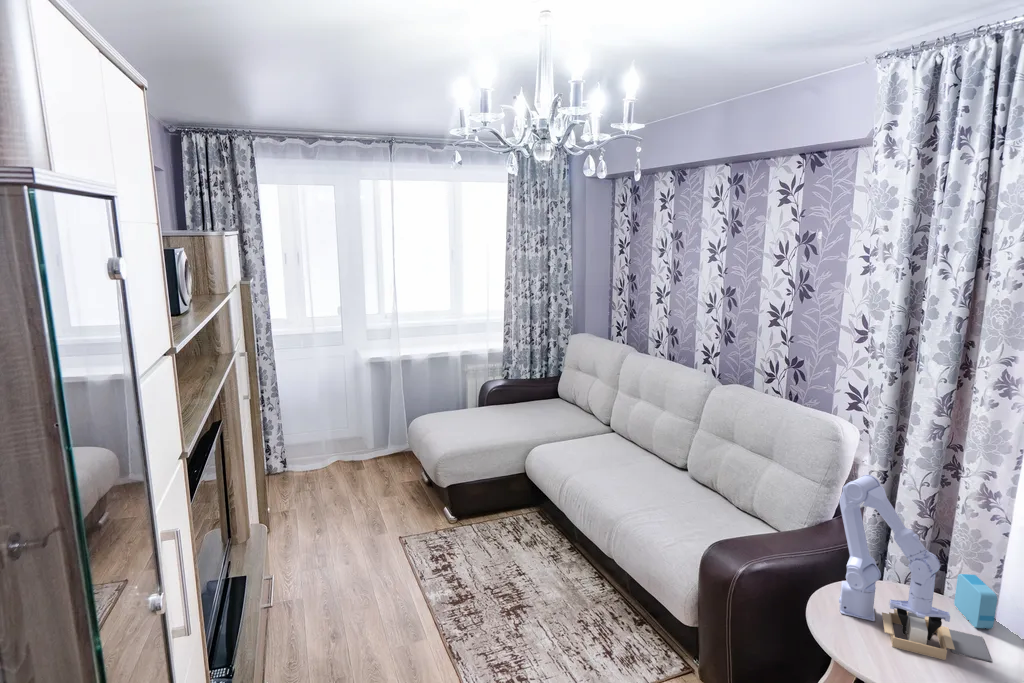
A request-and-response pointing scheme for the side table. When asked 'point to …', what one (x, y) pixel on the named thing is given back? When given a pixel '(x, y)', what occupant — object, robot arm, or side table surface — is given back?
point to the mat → (969, 645)
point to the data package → (975, 601)
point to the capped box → (916, 629)
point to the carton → (916, 647)
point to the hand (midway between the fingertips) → (916, 635)
